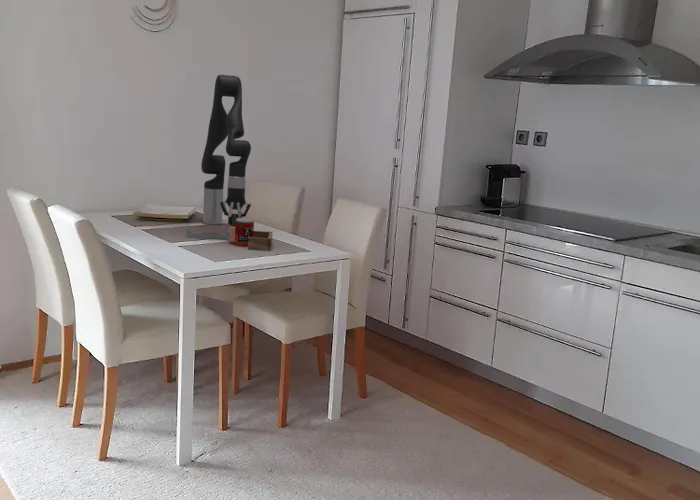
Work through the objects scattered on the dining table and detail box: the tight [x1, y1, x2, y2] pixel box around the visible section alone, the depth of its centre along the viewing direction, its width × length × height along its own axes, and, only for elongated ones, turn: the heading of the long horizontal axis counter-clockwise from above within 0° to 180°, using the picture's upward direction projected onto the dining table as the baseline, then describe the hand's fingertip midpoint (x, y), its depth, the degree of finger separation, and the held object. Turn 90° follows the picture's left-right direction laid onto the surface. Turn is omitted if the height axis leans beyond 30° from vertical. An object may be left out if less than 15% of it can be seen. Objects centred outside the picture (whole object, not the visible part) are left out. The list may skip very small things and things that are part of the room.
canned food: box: [234, 217, 255, 248], centre depth 283 cm, size 8×8×11 cm
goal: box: [247, 230, 273, 252], centre depth 284 cm, size 15×9×5 cm, turn 4°
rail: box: [185, 227, 229, 241], centre depth 292 cm, size 3×30×4 cm, turn 94°
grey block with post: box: [226, 213, 239, 243], centre depth 288 cm, size 13×6×11 cm, turn 4°
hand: (234, 225), depth 292 cm, fingers closed on grey block with post, 3 cm apart
